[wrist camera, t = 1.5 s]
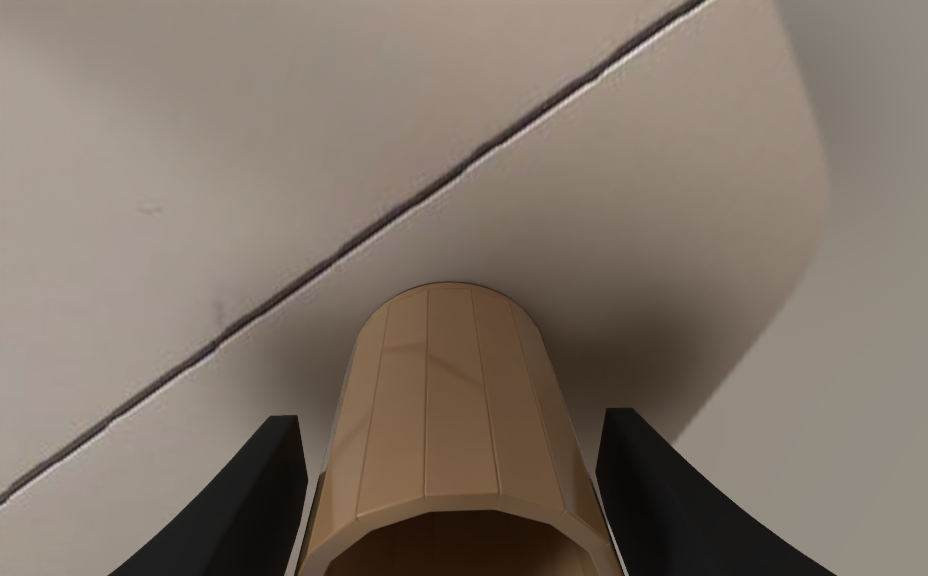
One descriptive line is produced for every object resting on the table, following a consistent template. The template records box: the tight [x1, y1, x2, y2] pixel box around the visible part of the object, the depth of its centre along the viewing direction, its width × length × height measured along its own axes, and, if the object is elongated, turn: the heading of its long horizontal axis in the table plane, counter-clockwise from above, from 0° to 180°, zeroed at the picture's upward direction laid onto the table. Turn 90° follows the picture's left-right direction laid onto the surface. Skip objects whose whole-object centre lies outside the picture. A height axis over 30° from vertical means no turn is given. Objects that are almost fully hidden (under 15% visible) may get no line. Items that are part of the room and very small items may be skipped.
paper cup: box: [294, 282, 625, 576], centre depth 12 cm, size 6×6×7 cm
